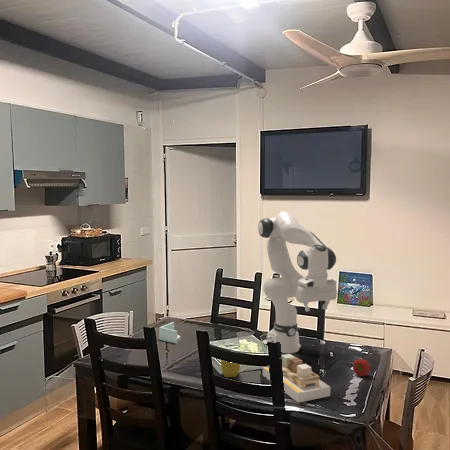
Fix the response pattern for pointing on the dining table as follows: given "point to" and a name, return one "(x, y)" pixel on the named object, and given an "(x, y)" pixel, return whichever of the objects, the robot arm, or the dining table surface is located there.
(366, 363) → the tomato
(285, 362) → the block
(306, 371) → the block
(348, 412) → the dining table surface
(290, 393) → the dock
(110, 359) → the dining table surface
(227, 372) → the flower pot
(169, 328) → the l-shaped corner panel
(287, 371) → the wooden block holder
